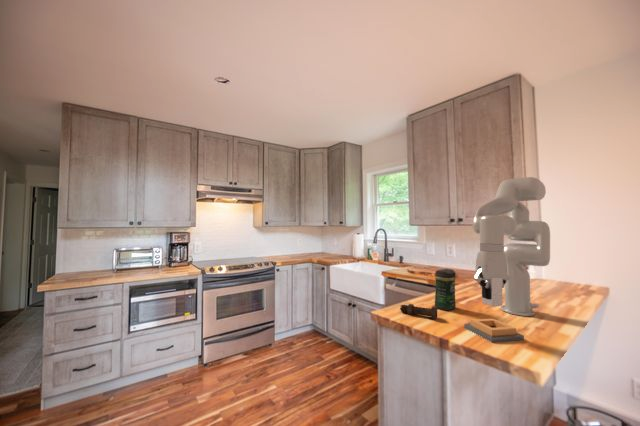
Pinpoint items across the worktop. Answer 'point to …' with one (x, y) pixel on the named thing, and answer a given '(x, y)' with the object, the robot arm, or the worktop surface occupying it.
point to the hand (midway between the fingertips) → (492, 297)
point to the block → (494, 292)
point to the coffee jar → (445, 289)
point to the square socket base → (494, 330)
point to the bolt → (420, 310)
